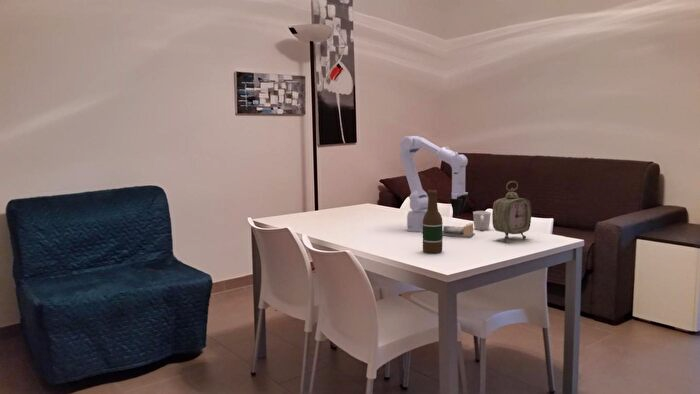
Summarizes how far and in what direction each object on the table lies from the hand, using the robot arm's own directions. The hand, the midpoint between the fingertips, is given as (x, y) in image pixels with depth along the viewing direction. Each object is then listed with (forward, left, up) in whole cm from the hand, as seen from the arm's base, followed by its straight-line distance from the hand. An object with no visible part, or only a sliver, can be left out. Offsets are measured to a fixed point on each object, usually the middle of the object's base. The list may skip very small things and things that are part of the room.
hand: (458, 213), depth 242 cm
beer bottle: (-1, -35, -10) cm, 36 cm away
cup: (+7, +15, -10) cm, 20 cm away
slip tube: (-1, -1, -10) cm, 10 cm away
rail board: (-3, -1, -10) cm, 10 cm away
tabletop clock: (+23, -3, -10) cm, 25 cm away
